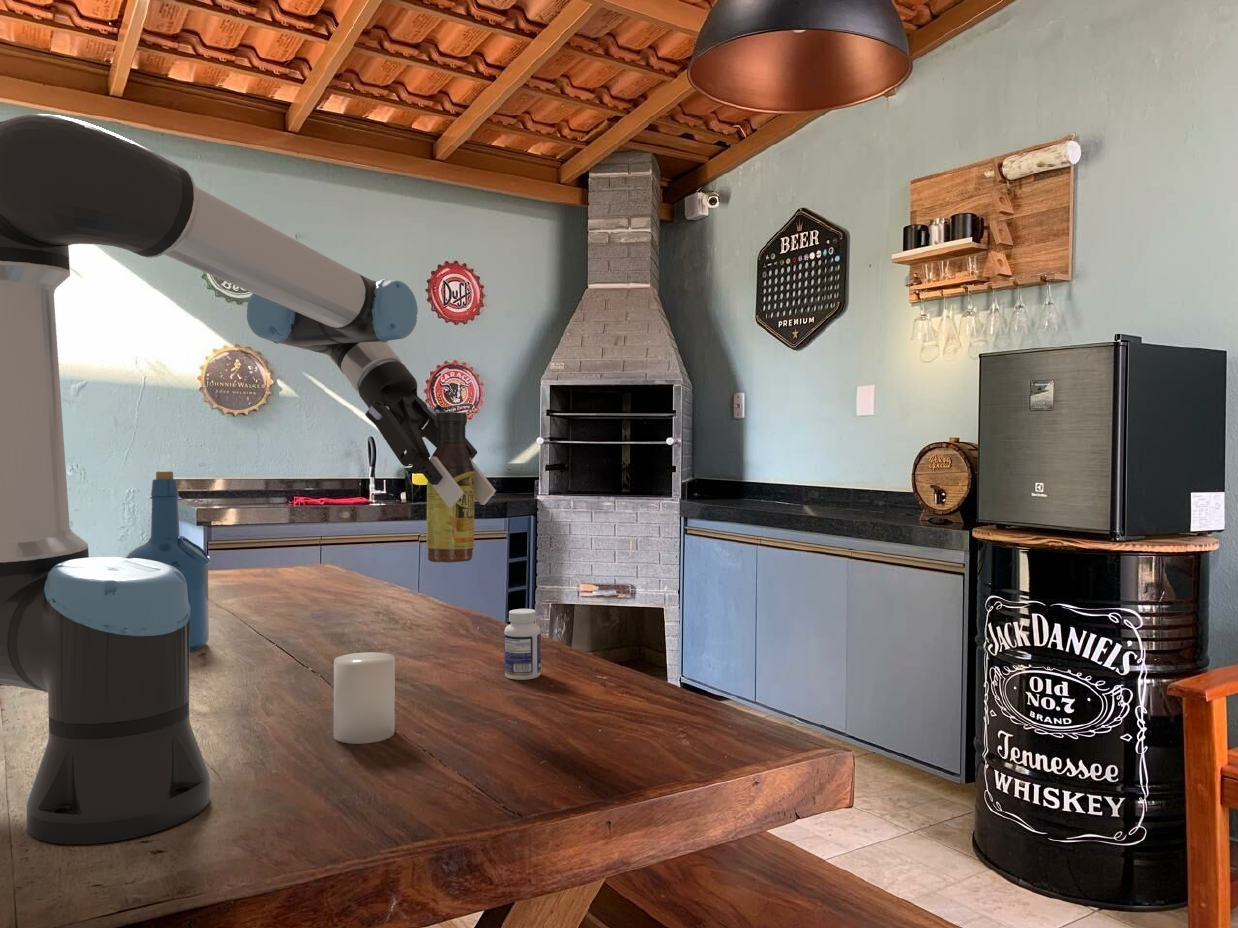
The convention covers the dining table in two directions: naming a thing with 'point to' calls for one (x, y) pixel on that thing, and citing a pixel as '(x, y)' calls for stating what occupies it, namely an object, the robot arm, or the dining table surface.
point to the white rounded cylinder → (364, 697)
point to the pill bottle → (522, 645)
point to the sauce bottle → (456, 524)
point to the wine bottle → (178, 553)
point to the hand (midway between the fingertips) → (472, 498)
